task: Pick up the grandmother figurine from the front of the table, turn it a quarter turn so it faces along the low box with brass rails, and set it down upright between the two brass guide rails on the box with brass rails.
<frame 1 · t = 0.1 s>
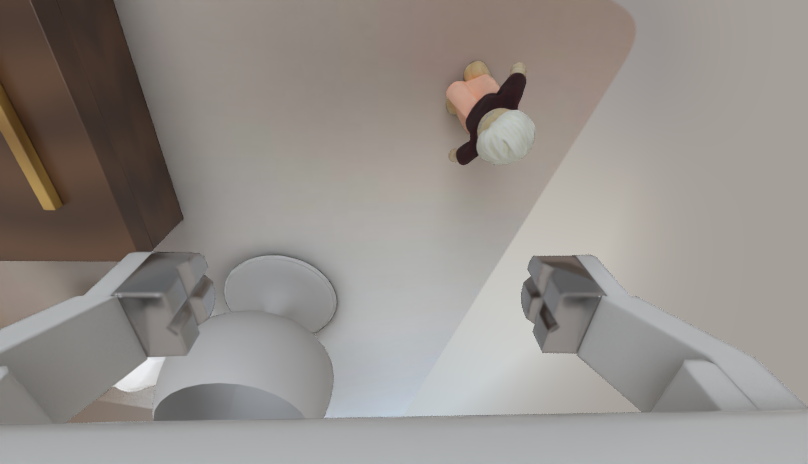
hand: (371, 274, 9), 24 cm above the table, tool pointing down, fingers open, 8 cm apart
box with brass rails: (40, 96, 28), on the table
grandmother figurine: (465, 96, 30), on the table
chalice: (282, 296, 40), on the table
white low-poly sculpture: (144, 315, 41), on the table
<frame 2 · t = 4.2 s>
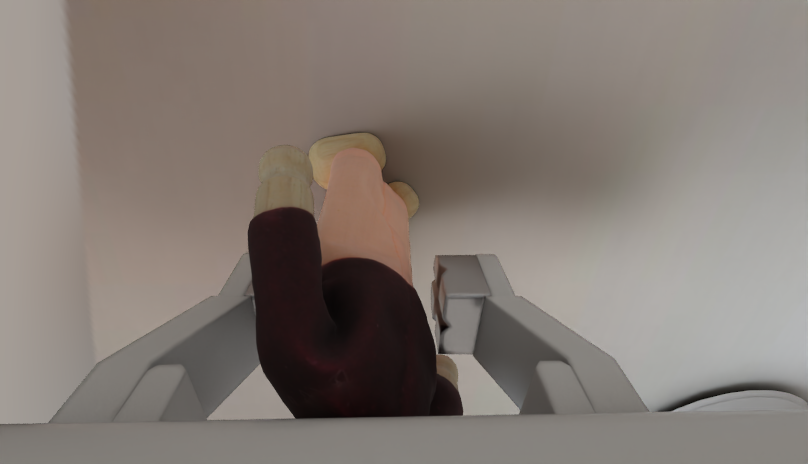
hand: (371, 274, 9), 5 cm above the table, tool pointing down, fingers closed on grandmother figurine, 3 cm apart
grandmother figurine: (373, 195, 14), on the table, touching gripper
chalice: (701, 437, 24), on the table
when the fingers open (12 cm above the table, at t = 13.1 s): grandmother figurine stays where it is, resting on box with brass rails.
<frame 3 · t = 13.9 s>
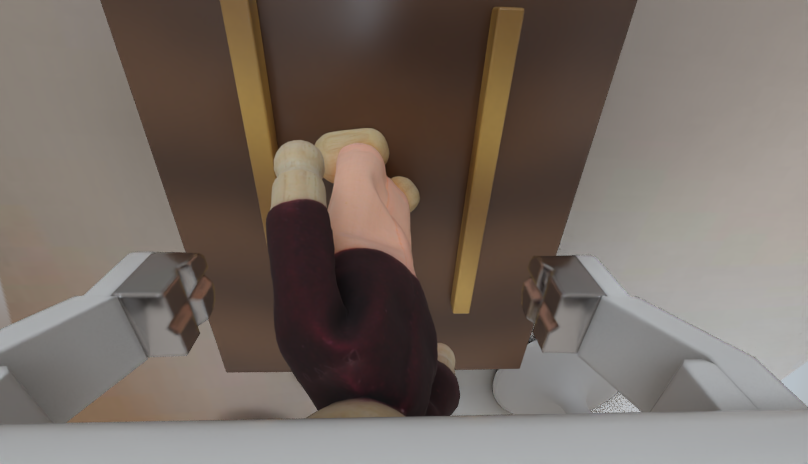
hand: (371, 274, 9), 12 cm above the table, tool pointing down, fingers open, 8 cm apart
box with brass rails: (379, 133, 20), on the table
grandmother figurine: (376, 189, 14), point 7 cm above the table, touching box with brass rails
chalice: (558, 372, 32), on the table
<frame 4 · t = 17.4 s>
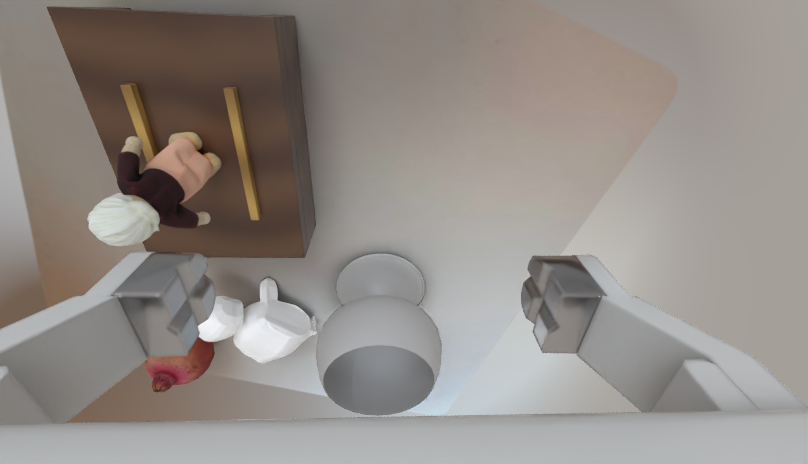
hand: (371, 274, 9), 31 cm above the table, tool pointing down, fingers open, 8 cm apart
box with brass rails: (230, 133, 38), on the table
grandmother figurine: (202, 158, 32), point 7 cm above the table, touching box with brass rails
fruit: (195, 328, 53), on the table
chalice: (380, 286, 50), on the table
white low-poly sculpture: (267, 302, 51), on the table
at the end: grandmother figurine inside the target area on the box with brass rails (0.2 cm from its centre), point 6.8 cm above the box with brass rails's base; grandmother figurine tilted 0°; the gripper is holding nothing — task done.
